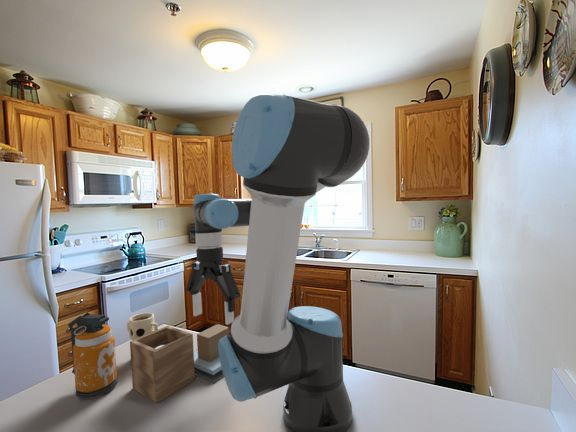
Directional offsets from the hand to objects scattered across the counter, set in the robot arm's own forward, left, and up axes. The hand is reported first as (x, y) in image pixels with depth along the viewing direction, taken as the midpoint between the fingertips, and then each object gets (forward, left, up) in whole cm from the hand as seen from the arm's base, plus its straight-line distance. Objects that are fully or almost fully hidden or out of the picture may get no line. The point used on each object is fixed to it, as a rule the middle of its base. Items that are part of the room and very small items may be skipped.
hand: (213, 318), depth 86 cm
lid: (0, 0, -13) cm, 13 cm away
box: (+4, +14, -14) cm, 20 cm away
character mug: (+22, +9, -14) cm, 28 cm away
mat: (0, 0, -14) cm, 14 cm away
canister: (+18, +25, -14) cm, 34 cm away
